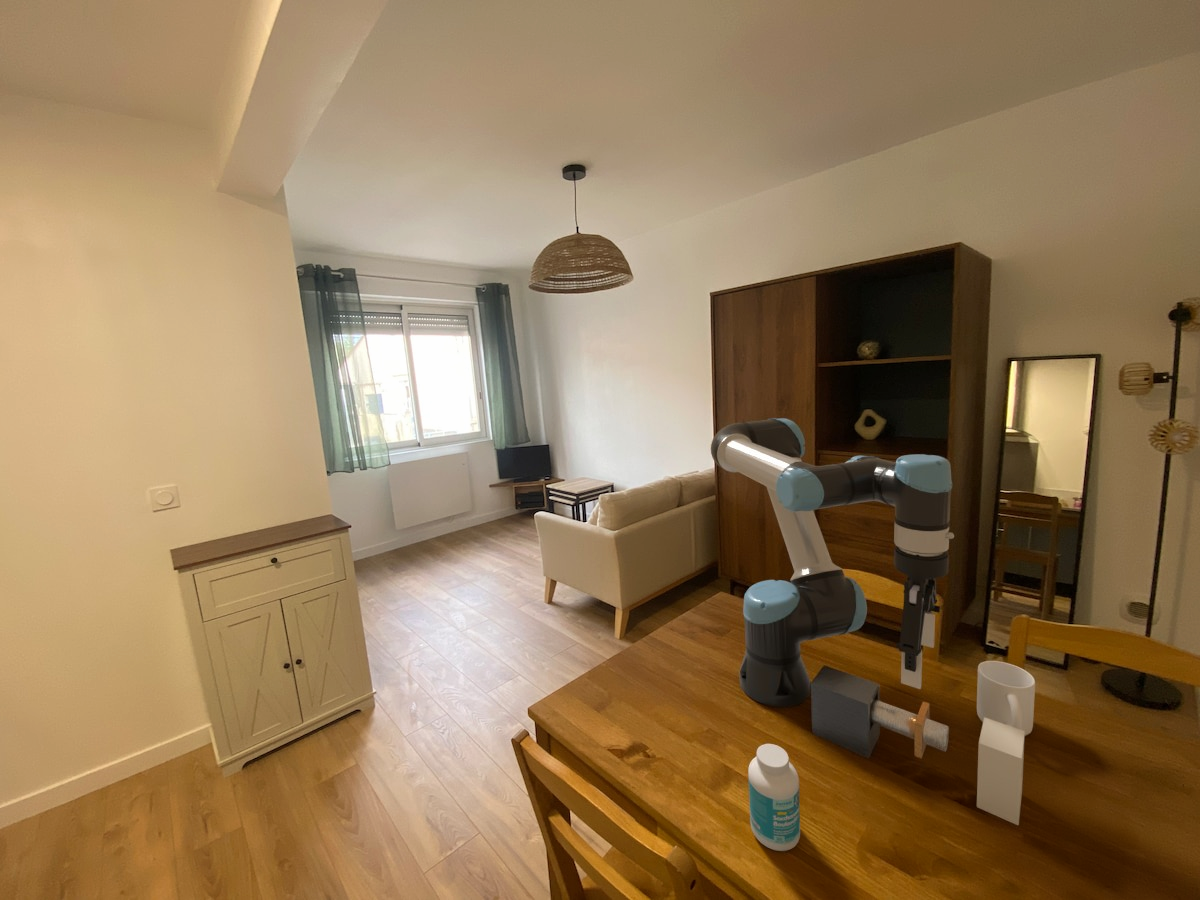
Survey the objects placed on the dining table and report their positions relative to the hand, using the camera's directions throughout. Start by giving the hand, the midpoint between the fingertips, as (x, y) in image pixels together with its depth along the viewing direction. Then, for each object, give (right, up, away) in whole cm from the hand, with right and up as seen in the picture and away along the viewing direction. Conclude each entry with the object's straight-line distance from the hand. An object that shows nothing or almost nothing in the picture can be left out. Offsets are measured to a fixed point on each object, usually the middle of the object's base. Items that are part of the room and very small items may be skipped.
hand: (918, 663), depth 82 cm
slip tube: (-4, -14, +5) cm, 16 cm away
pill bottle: (-28, -23, -8) cm, 37 cm away
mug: (+22, -16, +8) cm, 28 cm away
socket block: (+9, -19, -6) cm, 22 cm away
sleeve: (-8, -18, +10) cm, 22 cm away
